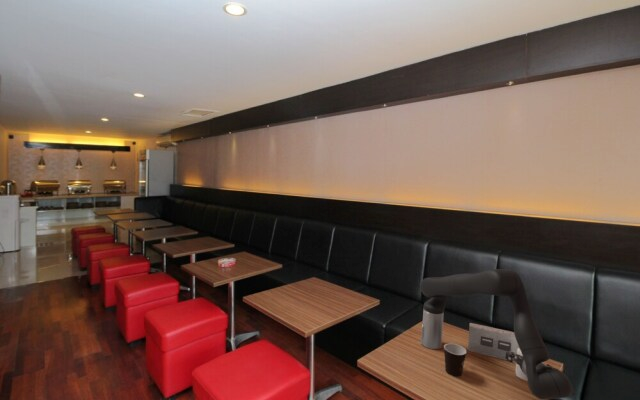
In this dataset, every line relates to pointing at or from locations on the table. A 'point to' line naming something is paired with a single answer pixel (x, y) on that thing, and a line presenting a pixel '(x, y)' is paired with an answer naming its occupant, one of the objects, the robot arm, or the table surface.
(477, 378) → the table surface
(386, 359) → the table surface
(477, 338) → the psu panel
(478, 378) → the table surface
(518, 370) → the can
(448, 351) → the coffee mug
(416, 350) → the table surface
